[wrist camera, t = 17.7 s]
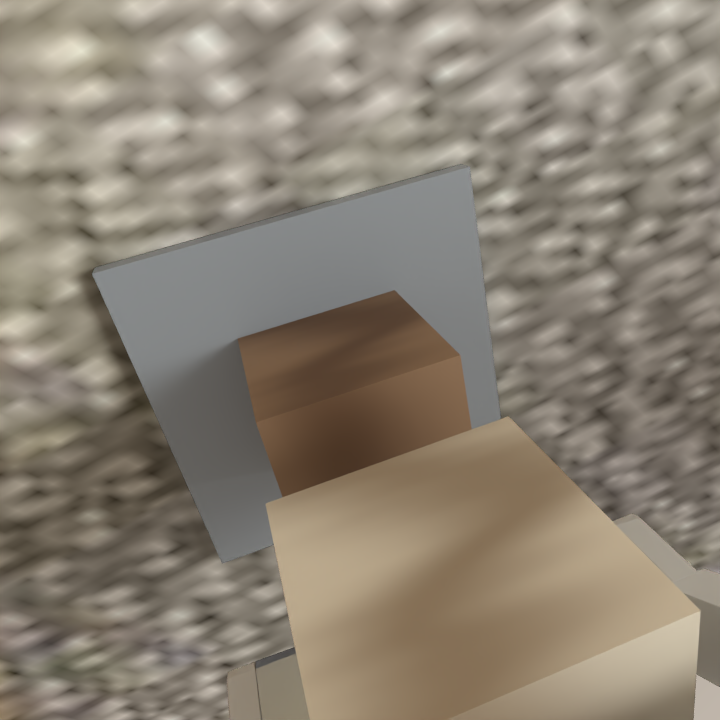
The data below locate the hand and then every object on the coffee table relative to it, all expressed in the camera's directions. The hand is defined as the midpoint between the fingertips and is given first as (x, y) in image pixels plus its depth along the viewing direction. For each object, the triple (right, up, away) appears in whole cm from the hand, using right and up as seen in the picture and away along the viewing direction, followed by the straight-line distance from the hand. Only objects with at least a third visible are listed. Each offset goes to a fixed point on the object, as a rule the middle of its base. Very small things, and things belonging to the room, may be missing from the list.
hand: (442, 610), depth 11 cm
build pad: (-3, +4, +9) cm, 10 cm away
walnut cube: (-2, +4, +8) cm, 9 cm away
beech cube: (0, +1, +1) cm, 2 cm away
